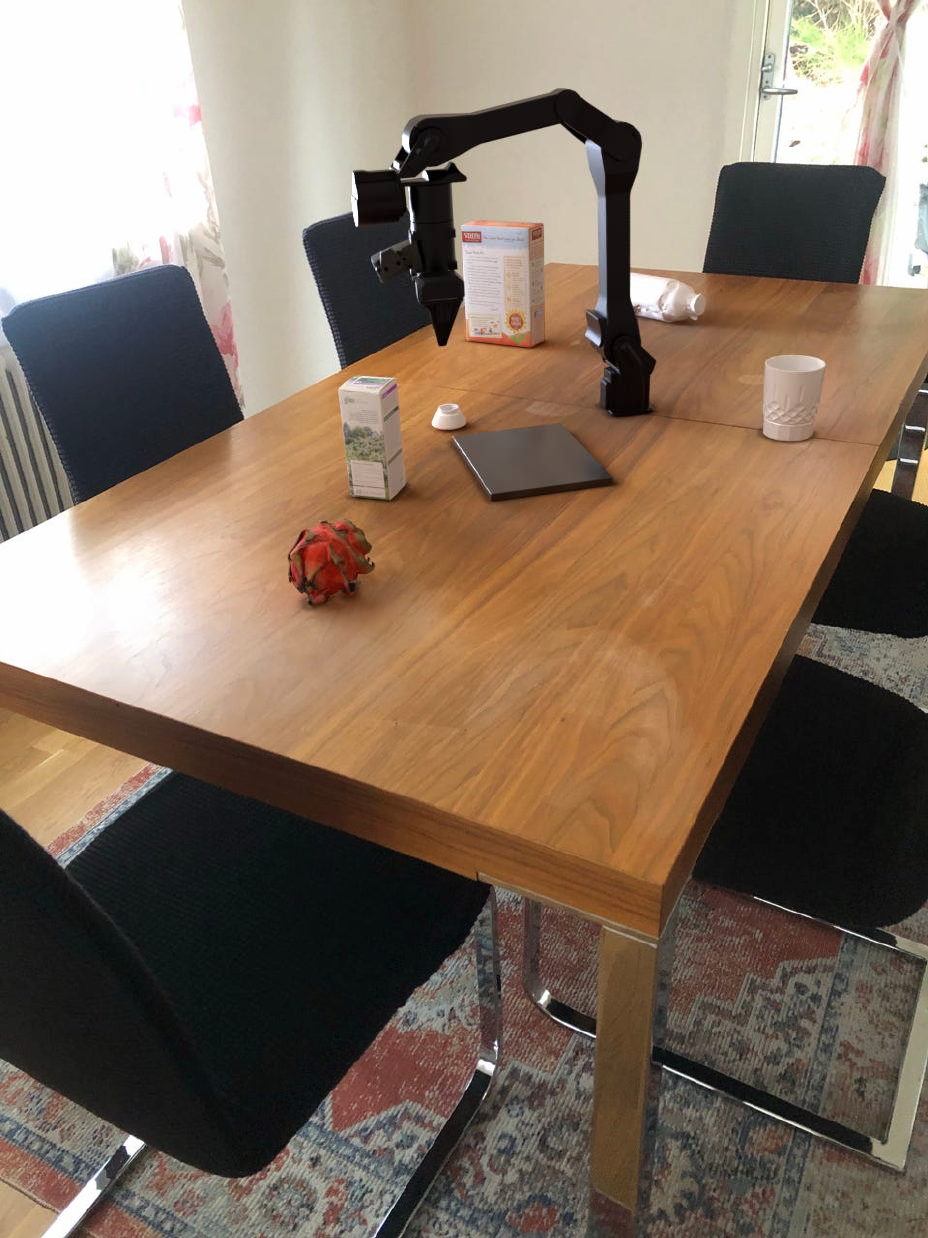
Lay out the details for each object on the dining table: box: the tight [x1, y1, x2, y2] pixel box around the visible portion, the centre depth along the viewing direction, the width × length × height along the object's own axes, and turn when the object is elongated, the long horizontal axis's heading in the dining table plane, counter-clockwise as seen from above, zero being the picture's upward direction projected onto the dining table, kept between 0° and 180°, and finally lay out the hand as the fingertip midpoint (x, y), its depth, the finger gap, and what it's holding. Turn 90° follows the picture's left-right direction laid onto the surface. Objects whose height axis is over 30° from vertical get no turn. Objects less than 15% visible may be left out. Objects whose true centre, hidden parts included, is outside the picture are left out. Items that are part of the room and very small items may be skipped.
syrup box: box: [337, 375, 407, 501], centre depth 130 cm, size 6×6×14 cm
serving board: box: [452, 422, 614, 502], centre depth 140 cm, size 16×22×1 cm
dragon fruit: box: [287, 518, 376, 607], centre depth 109 cm, size 8×8×12 cm
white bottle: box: [630, 271, 707, 324], centre depth 199 cm, size 8×19×8 cm, turn 42°
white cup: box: [762, 354, 827, 443], centre depth 142 cm, size 8×8×10 cm
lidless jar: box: [431, 403, 467, 431], centre depth 153 cm, size 5×3×5 cm
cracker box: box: [461, 219, 546, 348], centre depth 188 cm, size 14×6×21 cm, turn 58°
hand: (439, 337), depth 146 cm, fingers open, 9 cm apart
